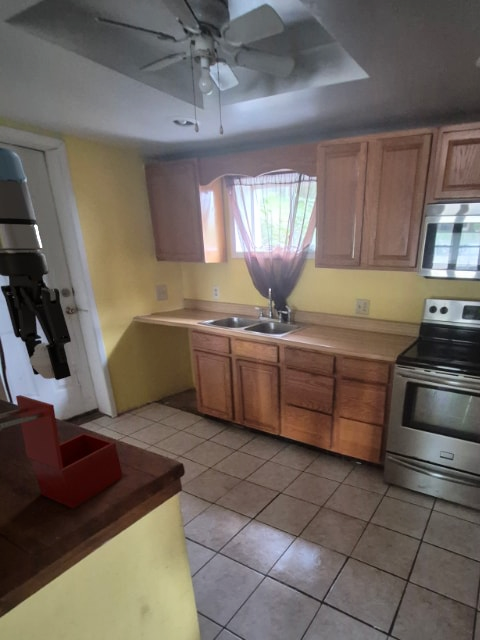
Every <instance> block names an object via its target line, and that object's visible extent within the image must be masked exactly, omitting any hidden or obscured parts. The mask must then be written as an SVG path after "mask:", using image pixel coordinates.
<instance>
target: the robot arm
mask: <svg viewBox="0 0 480 640" xmlns="http://www.w3.org/2000/svg"><path fill="white" fill-rule="evenodd" d="M24 170H25V169H24V167H23V164H22V161H21V158H20V156H19V155H18V154H17V152H15V151H14V150H11V149H8V148H4V147H1V146H0V276H2V277H8V284H7V285H0V291H1V293H2V295H3V297H4V300H5V303H6V307H7V310H8V315H9V319H10V323H11V326H12V331H13V334H14V336H15V338H17V339H19V338H20V340H21V341H22V342H23V343H24V345H25V348H26V352H27V356H28V358H29V360H30V358H31V356H33V353H34V352H35V349H34V348H35V347H36V346H37V345H38V344H41V343H43V342H42V340H41V339H42V336H41V335H39V334H38V327H37V326H38V324H37V321H38V323H39V325H40V328H41V330H42V332H43V334H44V336H45V339H46V342H47V343H49V345H46V348H47V350H48V354H49V357H50V361H51V365H52V369H53V372H54V376H55V378H54V379H55V380H56V381H60V380H64V379H67V378H70V377H72V374H71V370H70V366H69V362H68V356H67V353H66V349H65V345H66V344H68V343H71V342H72V339H71V335H70V331H69V329H68V324H67V321H66V318H65V315H64V310H63V307H62V303H61V296H60V293H61V292H60V289H58V288H50V287H48V284H47V282H46V281H45V279H44V276H45V275H48V274H49V272H50V270H49V267H48V262H47V257H46V254H44V253H43V252H40V250H43V243H42V239H41V232H39V228H38V227H39V226H38V223H37V219H36V214H35V210H34V206H33V201H32V197H31V192H30V188H29V184H28V178H27V177H28V176H27V175H26V174H25V171H24ZM30 366H31V369H32V372H33V375H35V376H38V375H40V374H39V373H38V372H37V371H36V370H35V369H34V368H33V366H32V365H31V364H30Z"/></svg>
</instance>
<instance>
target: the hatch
mask: <svg viewBox="0 0 480 640" xmlns="http://www.w3.org/2000/svg"><path fill="white" fill-rule="evenodd" d="M15 399H16V404H17V409H14V410H11V411H10V410H9V411H7V412H3V413H2V412H1V413H0V420H2V419H5V418H9V417H12V416H16V415H18V416H19V418H16V419H13V420H10V421H9V420H8V421H6V422H2V423H0V432H1V431H2V429H5V428H9V427H12V426H15V425H19V424H20V425H21V430H22V431H21V432H22V436H23V442H24V447H25V452H26V457H27V458H29V459H30V458H31V459H34V460H36V461H39V462H41V463H44V464H46V465H49V466H51V467H54V468H57V469H59V470H60V469H62V468H63V464H62V457H61V451H60V444H61V443H60V438H59V432H58V425H57V420H56V419H57V418H56V412H55V407H54V404H52V403H48V402H45V401H41V400H38V399H35V398H31V397H28V396H24V395H22V394H19V395H15Z"/></svg>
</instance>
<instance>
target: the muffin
mask: <svg viewBox="0 0 480 640" xmlns="http://www.w3.org/2000/svg"><path fill="white" fill-rule="evenodd" d="M46 345H49V343H48V342H42V343H41V344H38V345H37V346H36V347H35V348H34V349H35V352H34V353H33V356H31V358H30V359H29V364H30V366H31V365H32V366H33V368H34V369H35V370H36V371H37V372H38V373H39V374H38V375H40V377H42V378H43V379H46V380H50V379H55V376H54V372H53V369H52V365H51V361H50V357H49V354H48V350H47V348H46ZM32 366H31V367H32Z"/></svg>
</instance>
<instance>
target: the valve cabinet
mask: <svg viewBox="0 0 480 640" xmlns="http://www.w3.org/2000/svg"><path fill="white" fill-rule="evenodd" d="M59 444H60V451H61V457H62V464H63V468H62V469H60V470H59V469H57V468H54V467H51V466H49V465H46V464H44V463H41V462H39V461H36V460H34V459H31V458H29V459H30V463H31V466H32V468H33V472H34V475H35V478H36V481H37V484H38V487H39V490H40V493H41V495H43V496H45V497H47V498H49V499H51V500H53V501H56V502H58V503H60V504H61V505H64V506H66V507H69V508H71V509H75V508H76V507H78V506H79V505H81V504H82V503H84V502H85V501H87V500H89V499H91V497H92V498H93V496H95V495H97V494H98V493H100V492H101V491H103V490H104V489H106V488H108V487H110V485H112V484H114V483H116V482H117V481H119V480H120V479H122V478H123V477H124V476H123V472H122V468H121V464H120V458H119V453H118V448H117V444H116V442H115V441H112V440H108V439H105V438H102V437H98V436H95V435H93V434H89V433H86V432H83V433H81V434H79V435H77V436H75V437H72V438H70V439H68V440H66V441H64V442H61V443H59Z"/></svg>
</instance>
